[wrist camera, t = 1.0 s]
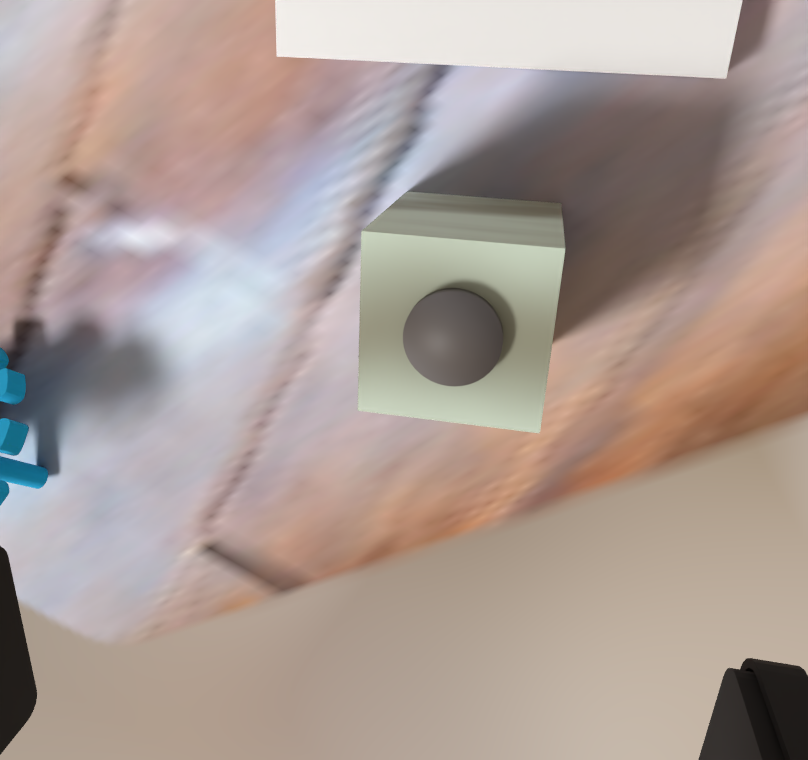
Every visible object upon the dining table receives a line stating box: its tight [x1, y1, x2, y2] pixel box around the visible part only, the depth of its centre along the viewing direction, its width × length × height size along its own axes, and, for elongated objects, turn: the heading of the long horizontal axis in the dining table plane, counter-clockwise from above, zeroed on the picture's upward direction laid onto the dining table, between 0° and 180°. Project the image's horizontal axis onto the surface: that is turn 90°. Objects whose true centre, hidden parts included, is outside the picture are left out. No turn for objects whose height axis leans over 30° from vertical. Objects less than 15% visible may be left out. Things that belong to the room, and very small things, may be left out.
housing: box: [358, 191, 565, 433], centre depth 23 cm, size 6×6×7 cm
